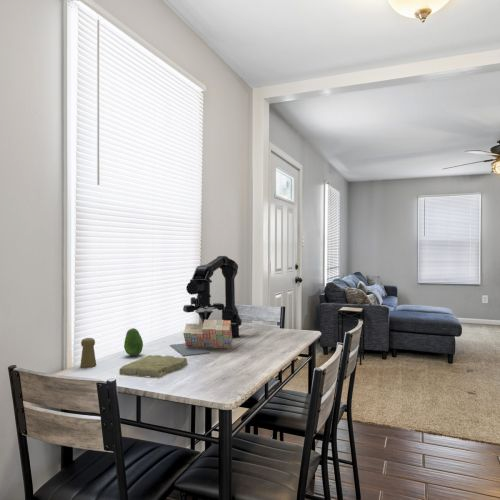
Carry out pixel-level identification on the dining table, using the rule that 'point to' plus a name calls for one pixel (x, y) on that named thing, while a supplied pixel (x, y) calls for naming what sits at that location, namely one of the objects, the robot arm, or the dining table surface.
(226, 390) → the dining table surface
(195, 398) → the dining table surface
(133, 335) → the avocado
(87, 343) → the cork
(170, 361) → the decorative tile
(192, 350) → the mat
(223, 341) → the stack of blocks
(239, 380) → the dining table surface
